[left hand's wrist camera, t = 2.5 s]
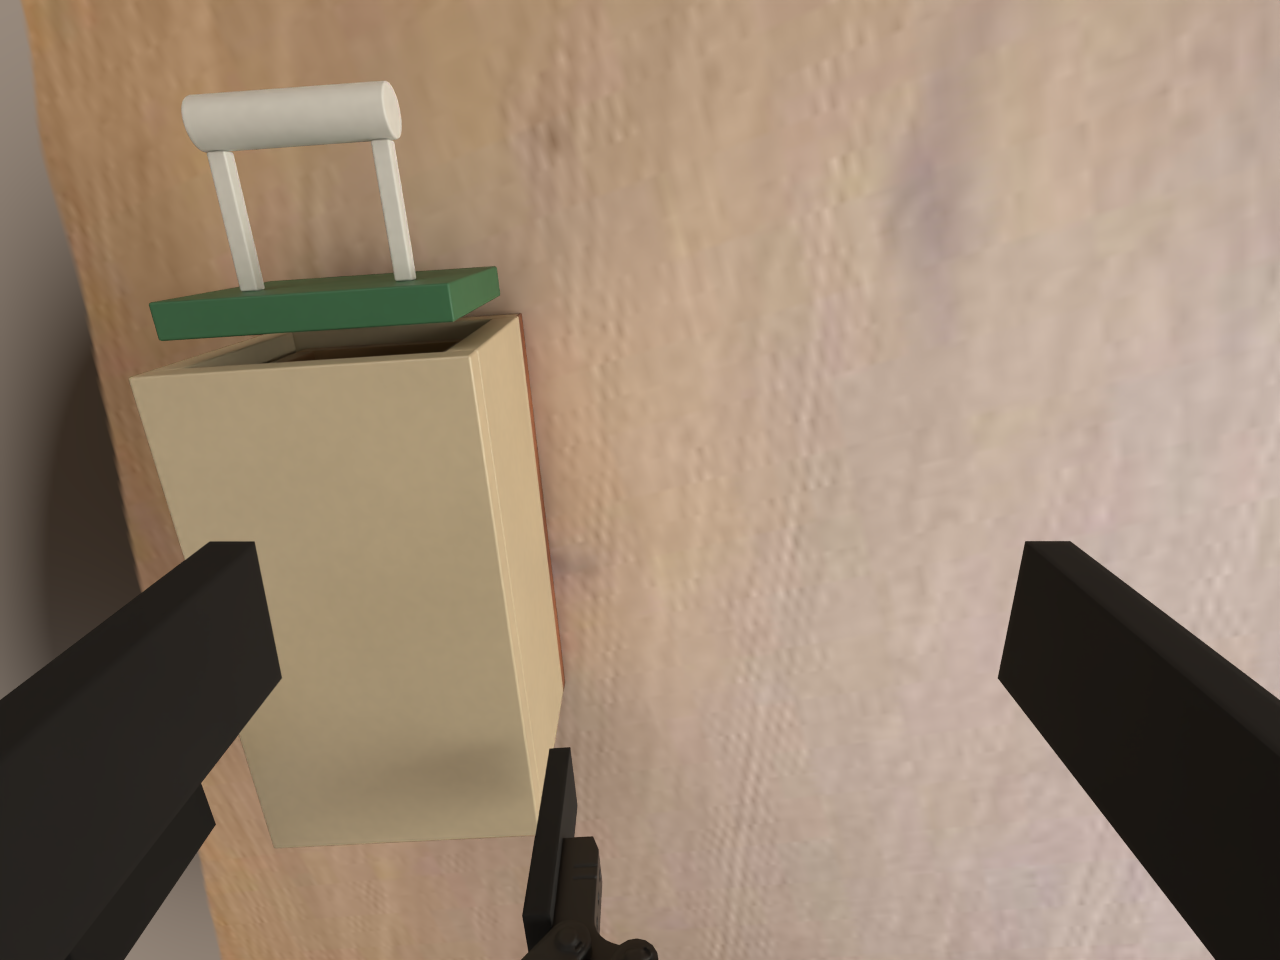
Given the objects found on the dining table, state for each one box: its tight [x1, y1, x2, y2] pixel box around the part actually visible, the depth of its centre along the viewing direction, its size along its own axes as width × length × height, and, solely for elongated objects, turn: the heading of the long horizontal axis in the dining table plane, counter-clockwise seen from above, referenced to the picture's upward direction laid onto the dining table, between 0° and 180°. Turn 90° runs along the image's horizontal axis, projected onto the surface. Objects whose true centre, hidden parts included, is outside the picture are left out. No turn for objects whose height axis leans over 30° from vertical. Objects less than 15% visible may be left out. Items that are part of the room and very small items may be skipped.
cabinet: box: [129, 313, 565, 848], centre depth 30 cm, size 19×11×10 cm, turn 4°
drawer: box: [149, 81, 500, 363], centre depth 28 cm, size 24×10×8 cm, turn 4°
